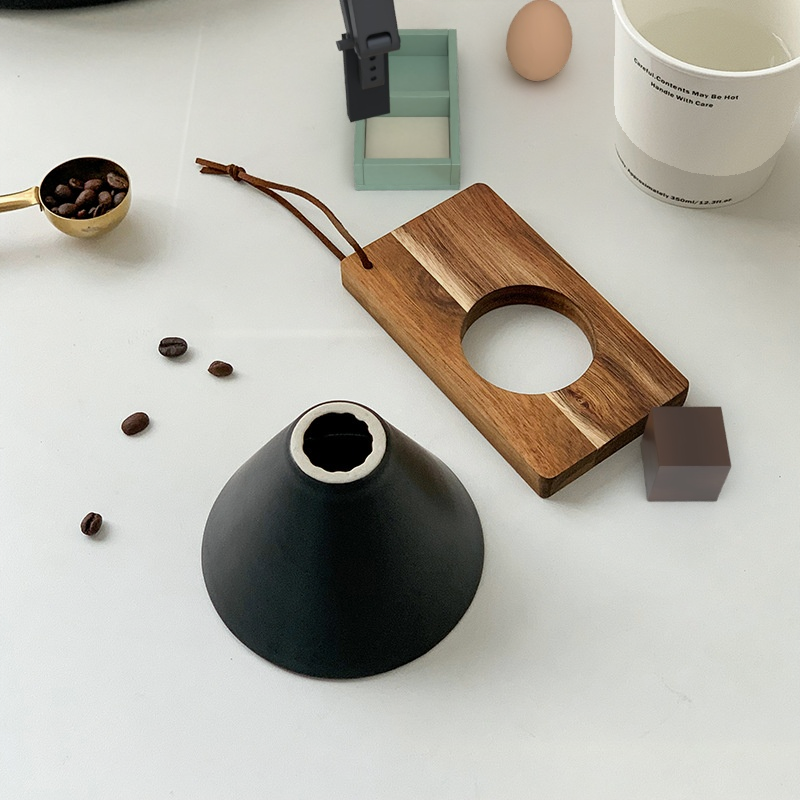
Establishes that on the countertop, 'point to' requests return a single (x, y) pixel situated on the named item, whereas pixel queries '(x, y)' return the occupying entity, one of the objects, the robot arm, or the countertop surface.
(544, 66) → the egg
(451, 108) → the sorting tray
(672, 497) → the walnut block
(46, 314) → the countertop surface
